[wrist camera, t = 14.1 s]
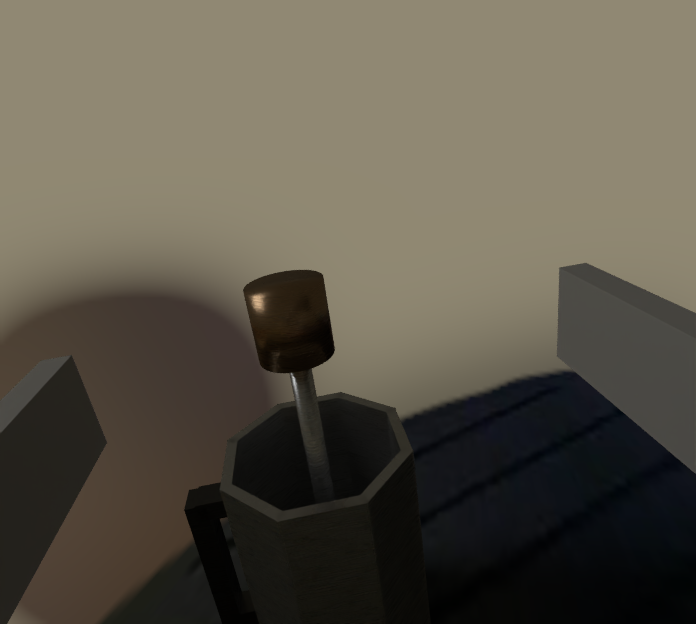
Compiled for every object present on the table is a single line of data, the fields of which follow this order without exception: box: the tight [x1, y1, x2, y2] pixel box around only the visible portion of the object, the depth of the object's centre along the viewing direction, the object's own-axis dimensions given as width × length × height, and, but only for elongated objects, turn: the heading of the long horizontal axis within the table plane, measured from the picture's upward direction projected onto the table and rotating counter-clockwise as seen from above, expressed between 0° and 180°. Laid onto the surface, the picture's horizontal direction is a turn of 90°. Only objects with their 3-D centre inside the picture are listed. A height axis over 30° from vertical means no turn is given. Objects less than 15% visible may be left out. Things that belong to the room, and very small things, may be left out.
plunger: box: [243, 270, 335, 504], centre depth 29 cm, size 7×7×25 cm
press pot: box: [184, 392, 431, 624], centre depth 31 cm, size 13×11×17 cm
